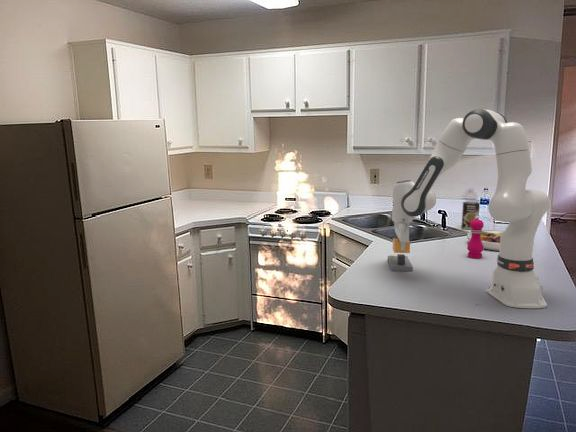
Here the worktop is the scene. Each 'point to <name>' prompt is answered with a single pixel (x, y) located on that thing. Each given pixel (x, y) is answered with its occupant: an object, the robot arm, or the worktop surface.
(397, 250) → the orange block
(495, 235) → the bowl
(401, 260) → the handle
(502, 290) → the robot arm
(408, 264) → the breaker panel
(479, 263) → the worktop surface
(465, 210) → the coffee box
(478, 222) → the pepper mill
